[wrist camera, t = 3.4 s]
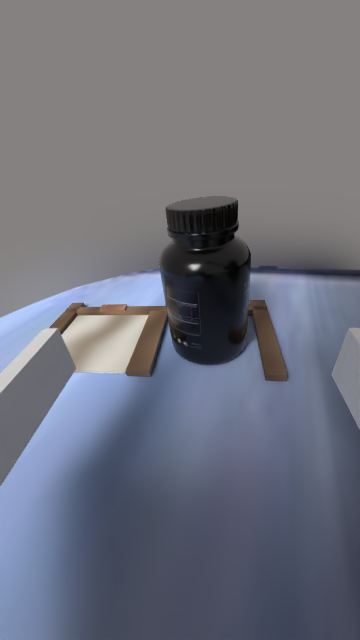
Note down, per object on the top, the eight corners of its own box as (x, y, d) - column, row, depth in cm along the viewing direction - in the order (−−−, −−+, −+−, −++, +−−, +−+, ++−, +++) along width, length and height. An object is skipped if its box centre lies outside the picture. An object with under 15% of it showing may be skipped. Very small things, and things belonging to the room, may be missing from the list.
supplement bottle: (205, 313, 27) (200, 191, 20) (260, 339, 22) (278, 194, 16) (156, 344, 23) (131, 208, 17) (211, 382, 19) (206, 217, 12)
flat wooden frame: (264, 304, 27) (265, 297, 27) (286, 381, 18) (288, 372, 18) (74, 307, 31) (71, 301, 30) (15, 371, 22) (10, 364, 21)
